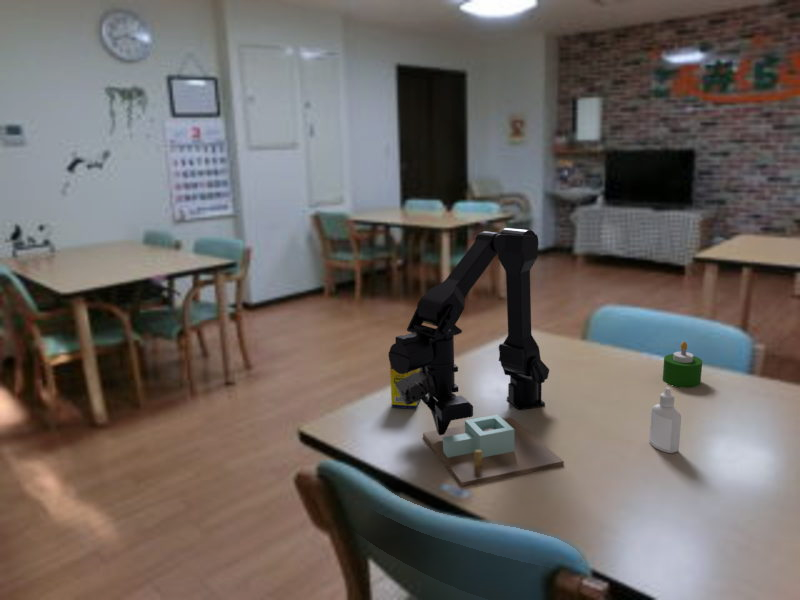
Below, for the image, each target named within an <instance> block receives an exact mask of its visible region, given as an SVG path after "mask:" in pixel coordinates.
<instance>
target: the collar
mask: <svg viewBox="0 0 800 600" xmlns="http://www.w3.org/2000/svg"><path fill="white" fill-rule="evenodd" d="M464 426H465V433H464V434H458V435H453V436H448V437H443V452H444V453H445V455H446V456H447V457H448V458H449V457H454V456H459V455H464V454H469V453H474V451H475V450H481V451H482V458H483V457H488V456H493V455H498V454H503V453H508V452H513V451H514V429H513V428H512V427H511V426H510V425H509V424H508V423H507V422H506V421H504V420H503V418H502V417H501V416H500V415H499V414H493V415H487V416H482V417H477V418H476V417H475V418H471V419H465V420H464ZM487 428H492V429H495V430H490V431H484V432H483V430H484V429H487Z"/></svg>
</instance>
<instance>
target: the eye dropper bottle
mask: <svg viewBox="0 0 800 600" xmlns="http://www.w3.org/2000/svg"><path fill="white" fill-rule="evenodd" d="M659 396H660V397H659V403H656V404H654V405H653V406H652V407H651V410H650V411H651V412H650V425H649V436H648V437H649V438H648V439H649V443H650V445H651V446H653V448H655V449H656V450H659V451H660V452H661V451H662V452H664V453H667V454H675V453H676V452H679V449H680V440H681V439H680V438H681V430H682V429H681V426H682V415H681V413H680V412H679V410H678V409H677V408H676V407H674V406H675V395H674V394H673V393H672V392H671V388H670V387H665V389H664V392H662V393H660V394H659Z"/></svg>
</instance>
